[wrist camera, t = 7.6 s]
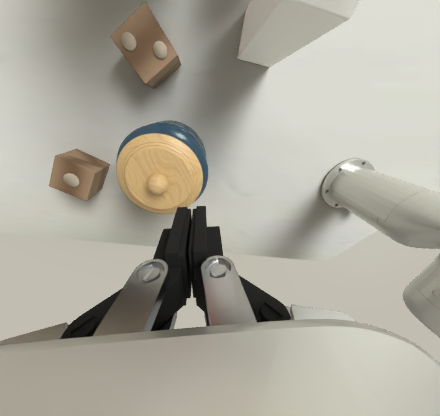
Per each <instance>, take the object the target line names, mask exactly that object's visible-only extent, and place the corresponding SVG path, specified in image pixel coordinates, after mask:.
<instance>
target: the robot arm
mask: <svg viewBox="0 0 440 416" xmlns="http://www.w3.org/2000/svg"><path fill="white" fill-rule="evenodd" d="M322 198H323V200H324V201H325V202H326V203H327V204H328V205H330V206H332V207H335V208H346V209H347V210H349V211H350V212H352V213H354V214H355V215H357V216H358V217H360V218H361V219H363V220H364V221H366V222H367V223H369V224H370V225H372V226H373V227H375V228H376V229H378V230H379V231H381V232H382V233H384V234H385V235H387V236H388V237H390V238H392V239H393V240H394V241H396V242H398V243H400V244H403V245H406V246H409V247H415V248H429V249H440V193H437V192H434V191H431V190H428V189H425V188H422V187H419V186H417V185H414V184H411V183H408V182H405V181H402V180H399V179H396V178H393V177H390V176H387V175H384V174H382V173H379V172H376V171H375V170H374V167H373V165H372V164H371V163H370V162H369V161H366V160H364V159H360V158H353V159H349V160H346V161H343V162H342V163H340V164H338V165H337V166H336V167H334V168H333V169H332V170H331V171H330V172H329V174H328V175H327V176H326V178H325V180H324V182H323V185H322ZM191 284H192V289H193V297H194V298H196V303H197V306H199V307H200V308H201V309H202V310H203V311H204V313H205V321H206V327H196V328H184V329H174V325H175V321H176V318H177V311H178V310H179V309H180V308H181V307H182V306H184V305H186V300H187V298H190V296H191ZM403 300H404V302H405V304H406V306H407V307H408V309H409V310H410V311H411V313H412V314H413V315H414V316H415V317H416V318H417V319H418V320H419V321H420V322H422V323H423V324H424V325H425V326H426V327H427V328H428V329H430V330H431V331H432V332H433V333H435V334H436V335H437V336H438V337H440V254H439V255H438V256H437V257H436V258H435V260H434V262H432V263H431V264H430V265H429V266H428V267H427V268H426V269H425V270H423V271H422V272H421V273H420V274H419V275H418V276H417V277H416V278H415V279H414V280H413V281H411V282H410V283H409V285H408V286H407V287H406V288H405V290H404V292H403ZM0 416H440V362H438V361H437V360H436V359H435V358H434V357H432V356H431V355H430V354H429V353H427V352H426V351H425V350H423V349H422V348H421V347H419V346H418V345H416V344H415V343H413V342H411V341H409V340H408V339H406V338H404V337H401V336H399V335H397V334H395V333H392V332H390V331H387V330H385V329H381V328H378V327H375V326H371V325H368V324H364V323H359V322H357V321H356V320H355V319H353V318H352V317H350V316H349V315H347V314H345V313H342V312H338V311H332V310H324V309H318V308H311V307H304V306H297V305H291V307H286V306H284V305H283V304H282V303H281V302H280V301H278V300H277V299H275V298H273V297H272V296H270V295H269V294H267V293H266V292H264V291H263V290H261V289H260V288H258V287H256V286H255V285H253V284H252V283H250V282H249V281H247V280H245V279H244V278H242V277H240V276H239V275H238V273H237V271H236V268H235V266H234V264H233V262H232V261H231V260H230V259H229V258H227V257H225V256H223V251H222V243H221V236H220V228H219V226H216V227H207V224H206V206H197V208H196V209H193V215H192V218H191V209H187V207H177V210H176V214H175V218H174V221H173V225H172V228H171V229H164V230H163V232H162V235H161V238H160V241H159V244H158V246H157V250H156V252H155V255H154V258H153V259H152V260H148V261H145V262H144V263H141V264H140V265H139V266H138V267H136V269H135V270H134V272H133V273H132V274H131V276H130V277H129V279H128V281H127V282H126V284H125V285H124V287H123V288H122V289H121V290H119V291H118V292H116V293H115V294H113V295H111V296H110V297H108V298H107V299H105V300H104V301H102V302H101V303H99V304H98V305H96V306H95V307H93V308H92V309H90V310H89V311H87V312H86V313H84V314H82V315H81V316H79V317H78V318H77V319H76V320H74V321H73V322H72V323H71V324H70V325H68V324H67V323H62V324H59V325H55V326H52V327H48V328H45V329H41V330H38V331H34V332H30V333H27V334H23V335H19V336H16V337H12V338H9V339H5V340H3V341H0Z"/></svg>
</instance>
